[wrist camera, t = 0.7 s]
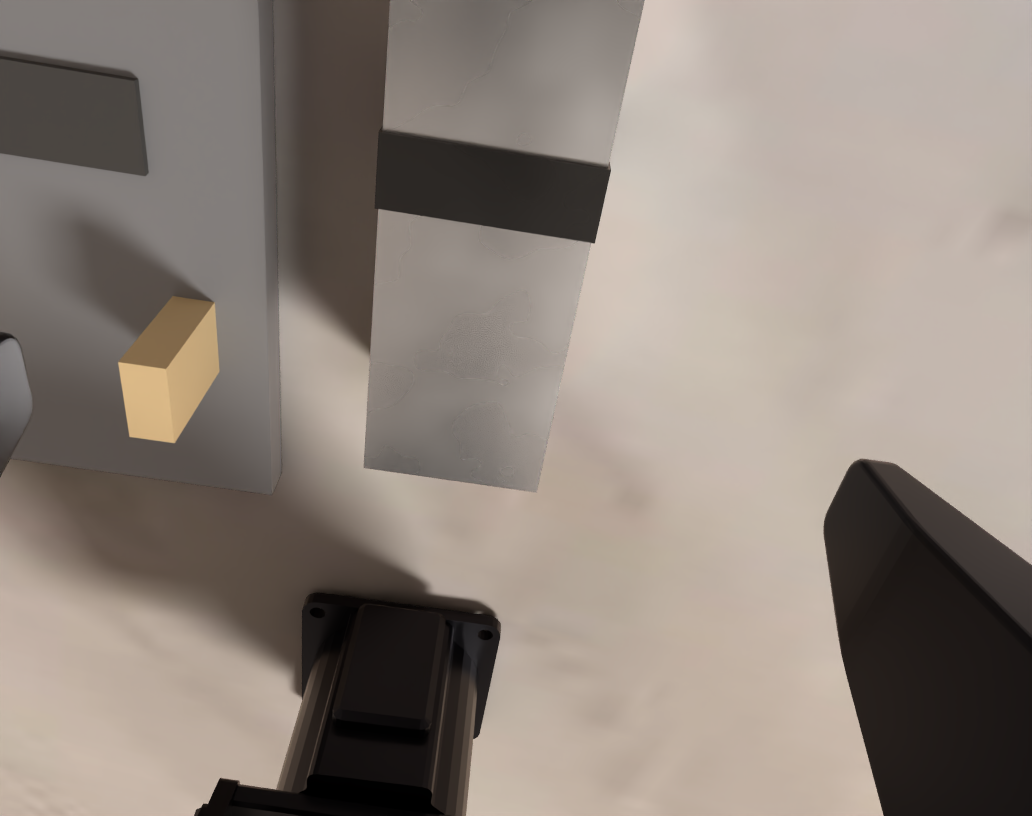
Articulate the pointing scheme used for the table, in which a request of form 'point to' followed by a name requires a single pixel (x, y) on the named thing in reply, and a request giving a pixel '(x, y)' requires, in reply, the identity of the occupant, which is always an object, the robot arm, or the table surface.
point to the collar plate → (143, 235)
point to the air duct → (486, 225)
